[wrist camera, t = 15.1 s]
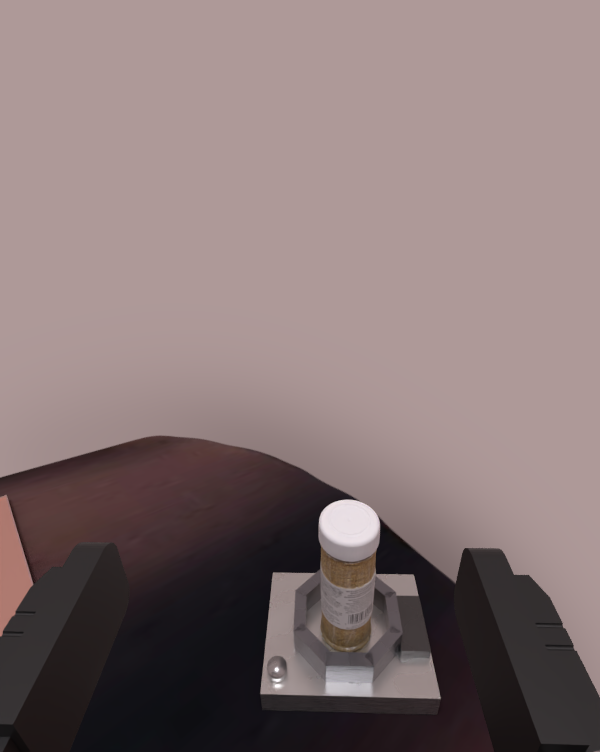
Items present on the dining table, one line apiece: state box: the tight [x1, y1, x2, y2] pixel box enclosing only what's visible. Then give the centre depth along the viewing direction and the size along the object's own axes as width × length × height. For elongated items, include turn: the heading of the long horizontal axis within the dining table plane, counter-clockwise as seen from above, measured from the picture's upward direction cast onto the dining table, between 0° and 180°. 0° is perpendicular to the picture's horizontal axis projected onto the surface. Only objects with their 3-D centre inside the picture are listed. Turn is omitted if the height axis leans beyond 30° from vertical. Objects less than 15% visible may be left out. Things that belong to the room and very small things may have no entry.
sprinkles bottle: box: [319, 500, 380, 652], centre depth 36 cm, size 5×5×13 cm
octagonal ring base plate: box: [260, 569, 441, 715], centre depth 39 cm, size 14×11×5 cm
